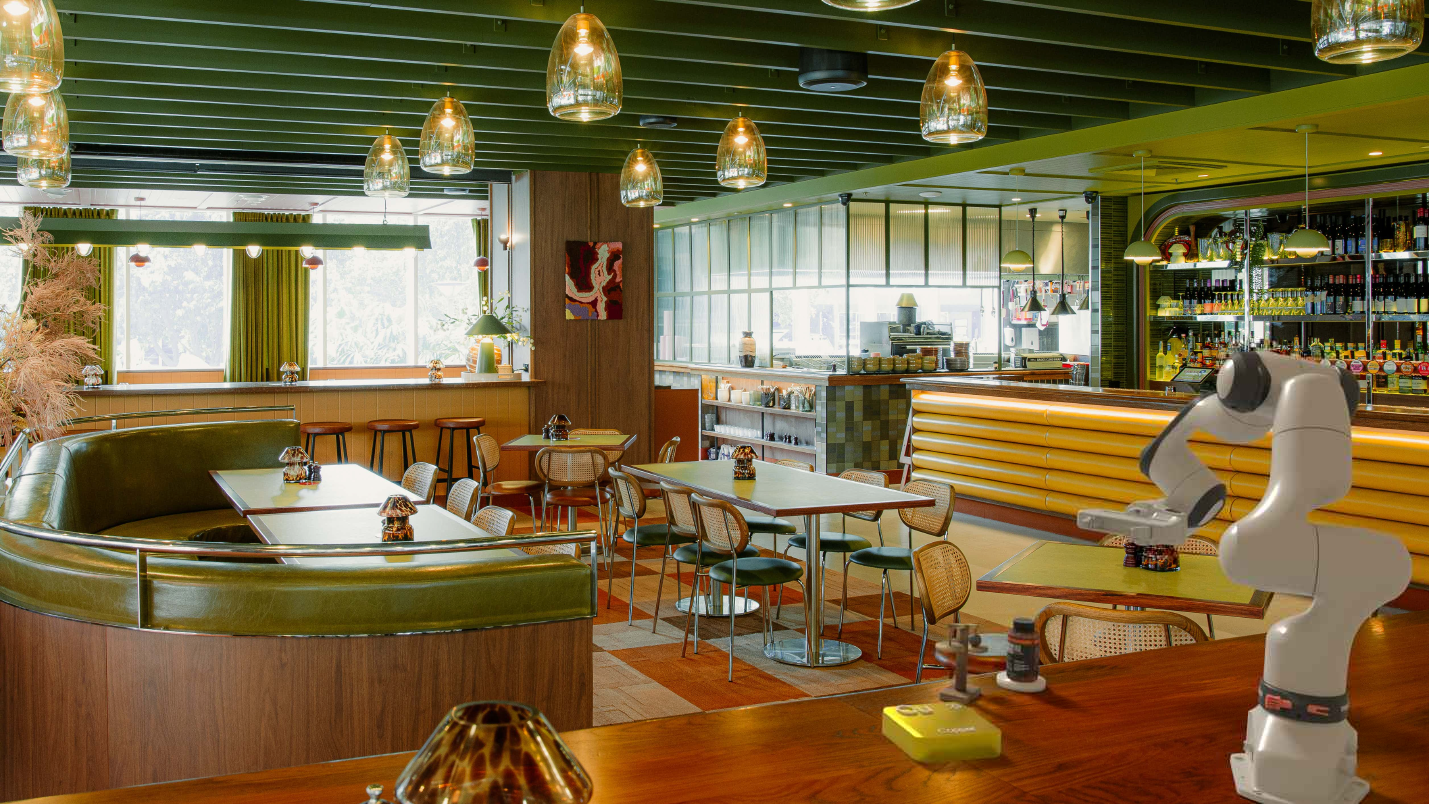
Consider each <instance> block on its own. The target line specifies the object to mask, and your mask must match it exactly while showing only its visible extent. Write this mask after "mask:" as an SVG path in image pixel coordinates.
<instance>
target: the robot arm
mask: <svg viewBox="0 0 1429 804" xmlns="http://www.w3.org/2000/svg"><path fill="white" fill-rule="evenodd" d="M1360 401H1361V384H1360V382H1359V381H1358V379H1357V376H1356V375H1355V374H1354V373H1353V372H1352V371H1350V370H1349V369H1346V368H1343V367H1341V366H1338V365H1335V364H1329V365H1328V364H1324V363H1320V362H1316V361H1313V360H1309V359H1303V358H1297V357H1296V356H1292V355H1285V354H1279V353H1277V352H1274V351H1270V350H1259V351H1255V350H1254V351H1252V350H1251V351H1236V352H1233V353H1231V354H1230V355H1229V356H1228V357H1226V358H1225V359H1224V360H1223V362H1222V364H1221V366H1220V369H1219V371H1218V374H1217V377H1216V392H1212V391H1207V392H1205V393H1203V394H1200V395H1198V396H1196V397H1194V398H1193V399H1192V400H1191V401H1189V403H1188V404H1186V405H1185V406H1184V407H1183V408H1182V409H1181V411H1179V412H1178V414H1176V416H1175V417H1174V418H1173V419H1172V420H1171V421H1170V422H1169V424H1168V425H1167V426H1166V427H1164V428H1163V430H1162V431H1161V432H1160V433H1159V434H1158V435H1157V436H1156V437H1155V438H1153V440H1151V441H1150V442H1149V443H1148V444H1147V445H1146V446H1145V447H1144V448H1143V449H1142V450H1141V452H1140V453H1139V457H1138V458H1139V459H1138V461H1139V463H1138V466H1139V467H1138V468H1139V471H1140V473H1142V474H1143V475H1144V477H1146V478H1147V479H1148V480H1150V482H1152V483H1153V484H1154V485H1155V486H1156V487H1158V489H1159V490H1160V491H1161V492H1162V493H1163V494H1164V495H1165V496H1166V497H1164V498H1163V497H1162V498H1159V499H1148V500H1147V499H1146V500H1140V501H1139V500H1138V501H1134V502H1132V503H1130V504H1128V506H1127V507H1126V508H1125V509H1124V511H1117V510H1112V509H1111V510H1110V509H1104V508H1089V509H1088V508H1087V509H1080V510H1078V512H1077V516H1076V518H1077V519H1076V524H1077V527H1078V528H1079V529H1084V530H1088V531H1094V532H1100V533H1105V534H1111V535H1116V536H1121V537H1122V536H1123V537H1126V538H1127V539H1128V540H1129V541H1130V542H1132V543H1134V544H1135V545H1138V546H1142V547H1144V546H1145V547H1146V546H1160V545H1164V546H1173V547H1183V546H1186V542H1187V537H1189V536H1192V535H1195V533H1198V531H1199V530H1200V529H1201V528H1203V527H1204V526H1207V524H1209V523H1210V522H1212V521H1213V520H1214V519H1215V518H1216V517H1217V516H1218V515H1219V514H1220V513H1221V512H1222V510H1223V509H1224V507H1225V505H1226V500H1227V493H1228V492H1227V489H1228V488H1227V485H1226V484H1225V483H1224V482H1223V481H1222V480H1221V479H1220V477H1218V476H1217V475H1216V474H1215V473H1214V472H1213V471H1212V470H1211V468H1209V467H1207V466H1206V464H1205V463H1203V461H1202V460H1201V459H1200V458H1198V457H1197V456H1196V454H1195V453H1194V452H1193V451H1192V449H1191V448H1190V446H1189V445H1188V443H1187V441H1188V440H1189V439H1190V438H1191V437H1192V436H1193V435H1194V434H1195V433H1196V432H1197V431H1198V430H1201V431H1203V432H1206V433H1207V434H1209V435H1211V436H1213V437H1215V438H1216V439H1218V440H1220V441H1223V442H1225V443H1230V444H1238V445H1239V444H1240V445H1243V444H1244V445H1245V444H1246V445H1247V444H1252V443H1255V442H1257V441H1260V440H1262V439H1263V438H1264V437H1265V436H1267V435H1268V433H1270V431H1271V430H1272V431H1271V433H1272V434H1271V436H1272V437H1271V463H1270V474H1269V476H1270V477H1269V481H1268V485H1267V488H1266V490H1265V493H1264V495H1263V497H1262V499H1261V500H1260V501H1259V503H1258V504H1257V505H1256V507H1254V509H1252V511H1251V512H1249V513H1248V514H1246V515H1245V516H1244V517H1242V518H1241V519H1239V520H1236V521H1235V522H1233V523H1232V524H1231V525H1229V527H1227V529H1226V530H1225V531H1224V533H1223V534H1222V536H1221V538H1220V539H1219V540H1220V541H1219V543H1218V549H1217V550H1218V551H1217V555H1218V561H1219V564H1220V568H1221V569H1222V572H1223V574H1225V576H1226V577H1227V579H1229V581H1230V582H1231V583H1233V584H1237V585H1240V586H1244V587H1247V588H1249V589H1250V588H1251V589H1254V590H1259V591H1262V592H1268V593H1278V594H1289V595H1297V596H1306V597H1311V598H1314V599H1313V601H1312V603H1311V605H1310V606H1309V607H1307V609H1306V610H1305V611H1303V612H1301V613H1297V614H1295V615H1291V616H1288V617H1285V618H1282V619H1280V620H1279V621H1276V622H1275V623H1274V624H1273V625H1271V627H1270V628H1269V629H1268V631H1267V634H1266V636H1265V649H1264V651H1265V652H1264V666H1263V676H1262V677H1261V678H1260V681H1259V686H1258V704H1257V705H1256V706H1255V707H1254V708H1251V710H1248V716H1247V728H1246V729H1247V730H1246V739H1245V740H1243V742H1242V746H1241V747H1242V748H1243V751H1244V752H1245V753H1243V752H1241V753H1240V752H1239V753H1232V754H1231V755H1230V760H1229V762H1230V766H1231V771H1232V776H1233V781H1234V783H1235V789H1236V792H1237V794H1238V795H1239V796H1242V797H1244V798H1247V799H1249V800H1252V801H1255V802H1258V803H1261V804H1359V803H1360V802H1361V801H1362V800H1363V799H1364V798H1365V797H1366V796H1367V795H1368V793H1370V789H1371V788H1370V787H1371V786H1370V782H1368V781H1366V780H1365V779H1362V778H1360V777H1358V776H1356V775H1357V773H1358V763H1357V756H1358V753H1359V746H1358V731H1357V730H1356V729H1355V728H1354V727H1353V726H1352V725H1351V724H1350V722H1349V721H1348V720H1347V717H1348V711H1349V707H1350V700H1349V692H1348V691H1347V688H1346V687H1347V676H1348V667H1349V662H1350V654H1351V649H1352V645H1353V641H1354V638H1355V636H1356V634H1357V633H1358V631H1359V629H1360V627H1361V626H1362V625H1363V623H1364V622H1365V621H1366V619H1368V618H1369V616H1371V615H1372V614H1373V613H1374V612H1375V611H1376V610H1377V609H1378V608H1380V607H1382V606H1383V605H1385V604H1387V603H1390V601H1391V602H1392V601H1393V600H1396V599H1397V598H1398V597H1399V596H1400V595H1401V594H1403V593H1404V592H1405V590H1406V589H1407V588H1408V586H1409V584H1410V582H1411V579H1412V575H1413V561H1412V558H1411V557H1412V556H1411V554H1410V552H1409V550H1408V547H1406V545H1405V544H1404V542H1403V541H1401V539H1400V538H1399V537H1397V536H1396V535H1392V534H1389V533H1385V532H1382V531H1378V530H1374V529H1370V528H1365V527H1359V526H1358V527H1357V526H1347V525H1337V524H1336V525H1333V524H1322V523H1321V524H1320V523H1314V522H1311V521H1308V514H1309V513H1310V512H1313V511H1314V510H1316V509H1319V508H1322V507H1325V506H1328V505H1331V504H1334V503H1335V502H1338V501H1339V500H1341V499H1343V498H1344V497H1345V496H1347V494H1348V493H1349V491H1350V489H1351V488H1352V486H1353V449H1352V447H1353V445H1352V444H1353V442H1352V425H1351V424H1352V423H1351V419H1352V418H1353V417H1354V416H1355V414H1356V413H1357V411H1358V408H1359V405H1360Z"/></svg>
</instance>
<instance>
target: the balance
mask: <svg viewBox="0 0 1429 804" xmlns="http://www.w3.org/2000/svg"><path fill="white" fill-rule="evenodd" d="M947 629H949V635H948V641H938V642H935V647H934V648H935V649H936V650H937V651H940V652H941V653H942V652H943V653H947V654H956V662H955V663H956V664H955V681H954V682H953V683H951V684H950V685H948V686H947V687H946V688H944V689H943V690H941V692H939V698H938V699H939V700H941V701H946V702H958V703H961V704H963V705H965V706H967V705H969V703H971V702H972V701H973V700H975V699H976V698H977V697H978V696H980V695H981V693H982V687H981V686H977V685H973V684H972V685H971V684H969V683H967V681H968V680H967V679H968V661H969V658H968V657H969V653H972V654H985V653H988V652H989V646H988V645H986V644H984V643H982V640H983V639H982V637H981V635H980V634H979V633H978V632H977V630H979V629H980V625H979V624H975V623H947ZM953 630H957V636H956V637H957V638H956V639H957V640H956V642H955V641H952V637H953V636H952V633H953ZM970 630H973V631H974V633H971V634H970Z"/></svg>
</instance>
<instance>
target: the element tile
mask: <svg viewBox="0 0 1429 804" xmlns="http://www.w3.org/2000/svg"><path fill="white" fill-rule="evenodd" d="M881 723H882V724H881V726H882V728H881V734H883V735H884V736H885V737H886V738H887V739H888V740H890V741H891V742H892V743H894V745H895V746H896V747H898V748H899V749H900V750H901V751H903V752H904V753H905V754H906V755H908V757H910V758H911V759H912V760H914V761H916V762H918V763H924V764H933V763H935V764H936V763H947V762H948V763H949V762H959V761H968V760H969V761H971V760H981V759H982V760H983V759H984V760H985V759H992V758H993V759H995V758H997V757H1000V755H1001V749H1002V746H1001V745H1002V729H1000V728H998V727H997V726H995V724H993V723H992V722H990V721H989V720H987V719H985V718H984V717H983V716H981V715H979V714H978V713H977V712H975V711H973V710H972V709H971V708H969V707H967V705H963V704H961V703H958V702H950V701H947V702H938V703H937V702H936V703H934V702H933V703H921V704H910V705H909V704H908V705H907V704H900V705H891V706H885V707H884V708H883V709H882V722H881Z"/></svg>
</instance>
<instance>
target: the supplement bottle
mask: <svg viewBox="0 0 1429 804" xmlns="http://www.w3.org/2000/svg"><path fill="white" fill-rule="evenodd" d="M1012 621H1013V623H1012V628H1011V629H1009V630H1008V631H1007V641H1006V643H1007V644H1006V663H1005V664H1006V666H1005V667H1006V668H1005V669H1006V670H1005V672H1006V675H1007V677H1008V678H1010V679H1011V680H1015V681H1019V682H1033V681H1036V680H1037V679H1038V676H1039V671H1040V670H1039V669H1040V668H1039V667H1040V643H1041V641H1040V638H1041V637H1040V634H1039V632H1037V631H1036V629H1035V628H1036V621H1035V620H1034V619H1032V618H1029V617H1028V618H1027V617H1014V618H1013V619H1012Z"/></svg>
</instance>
